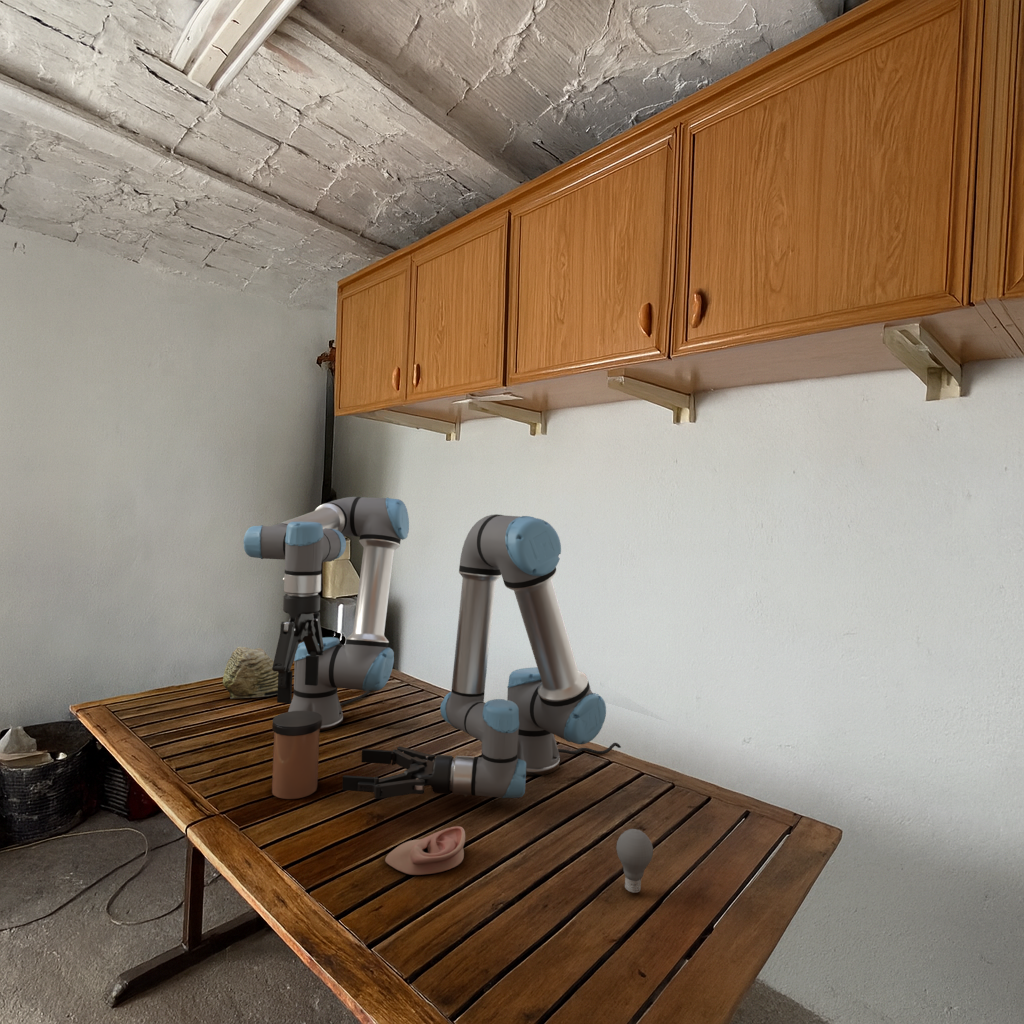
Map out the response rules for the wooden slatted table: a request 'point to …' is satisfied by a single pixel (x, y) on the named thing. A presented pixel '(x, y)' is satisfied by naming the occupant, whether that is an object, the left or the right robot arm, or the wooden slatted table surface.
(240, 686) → the fossil
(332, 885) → the wooden slatted table surface
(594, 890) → the wooden slatted table surface
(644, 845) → the light bulb
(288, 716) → the lid
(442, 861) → the anatomical model
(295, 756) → the jar
